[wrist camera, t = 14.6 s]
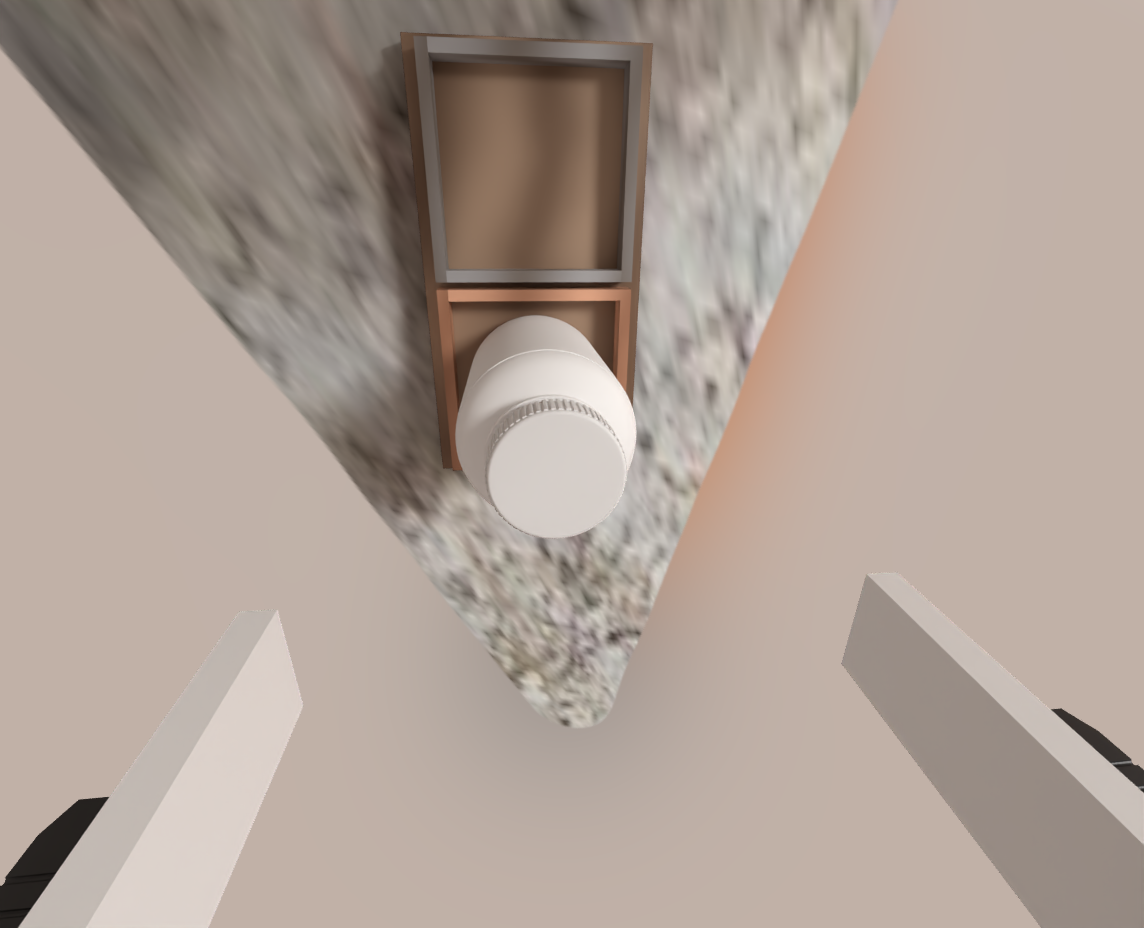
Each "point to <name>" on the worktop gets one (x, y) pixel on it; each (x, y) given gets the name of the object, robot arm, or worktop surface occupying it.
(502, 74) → the compartment tray
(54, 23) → the worktop surface
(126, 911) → the robot arm
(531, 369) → the pill bottle
